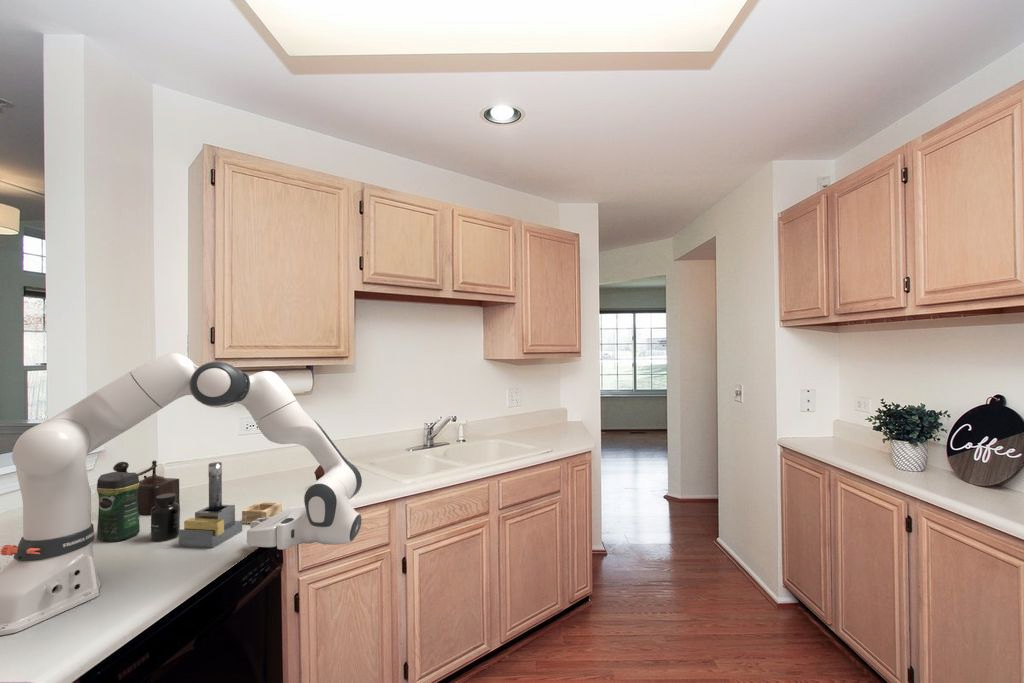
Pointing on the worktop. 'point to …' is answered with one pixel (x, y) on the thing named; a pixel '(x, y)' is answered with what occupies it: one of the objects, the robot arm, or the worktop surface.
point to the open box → (260, 511)
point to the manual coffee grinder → (151, 487)
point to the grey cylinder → (215, 486)
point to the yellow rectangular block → (205, 525)
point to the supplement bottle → (165, 518)
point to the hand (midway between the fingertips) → (253, 523)
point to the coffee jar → (118, 506)
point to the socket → (206, 537)
